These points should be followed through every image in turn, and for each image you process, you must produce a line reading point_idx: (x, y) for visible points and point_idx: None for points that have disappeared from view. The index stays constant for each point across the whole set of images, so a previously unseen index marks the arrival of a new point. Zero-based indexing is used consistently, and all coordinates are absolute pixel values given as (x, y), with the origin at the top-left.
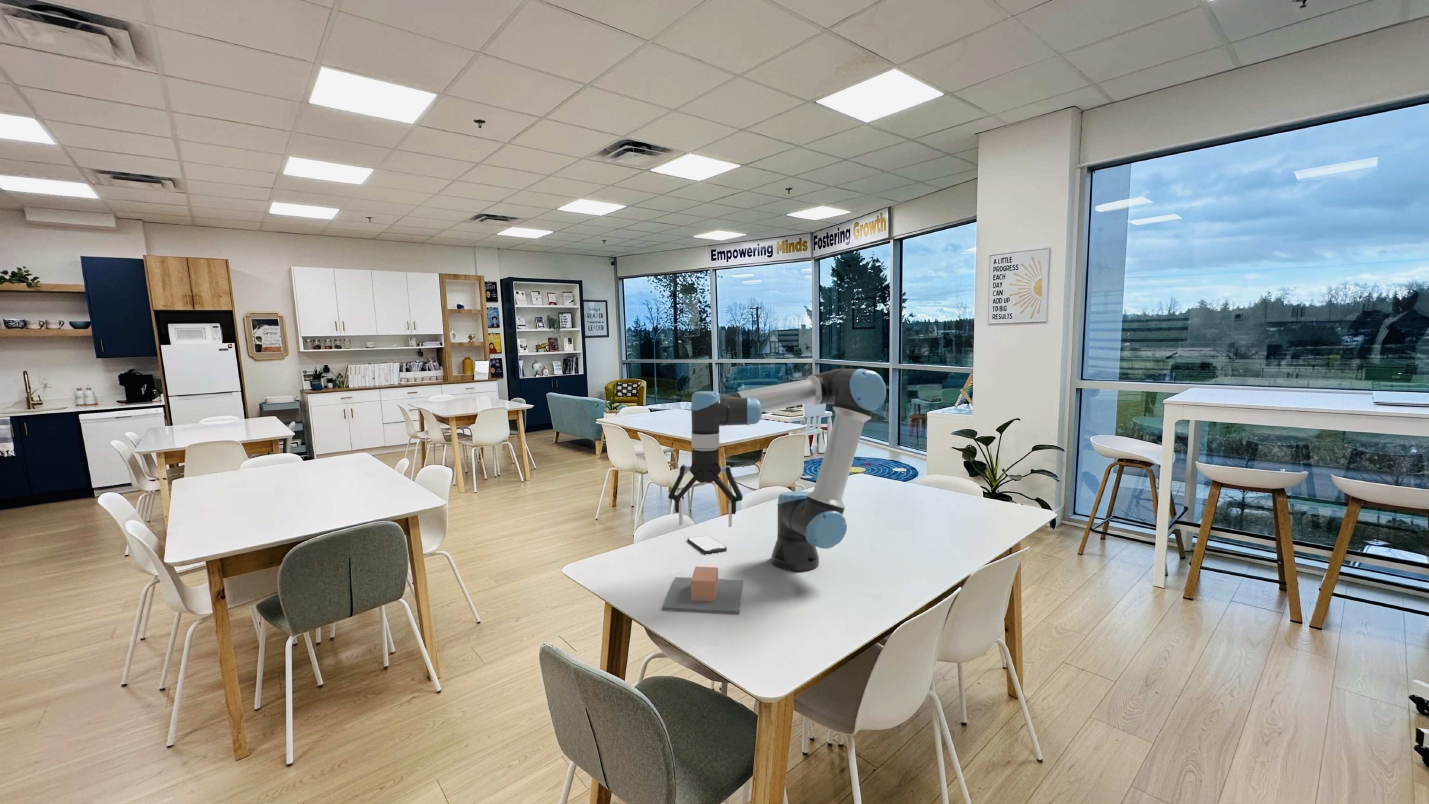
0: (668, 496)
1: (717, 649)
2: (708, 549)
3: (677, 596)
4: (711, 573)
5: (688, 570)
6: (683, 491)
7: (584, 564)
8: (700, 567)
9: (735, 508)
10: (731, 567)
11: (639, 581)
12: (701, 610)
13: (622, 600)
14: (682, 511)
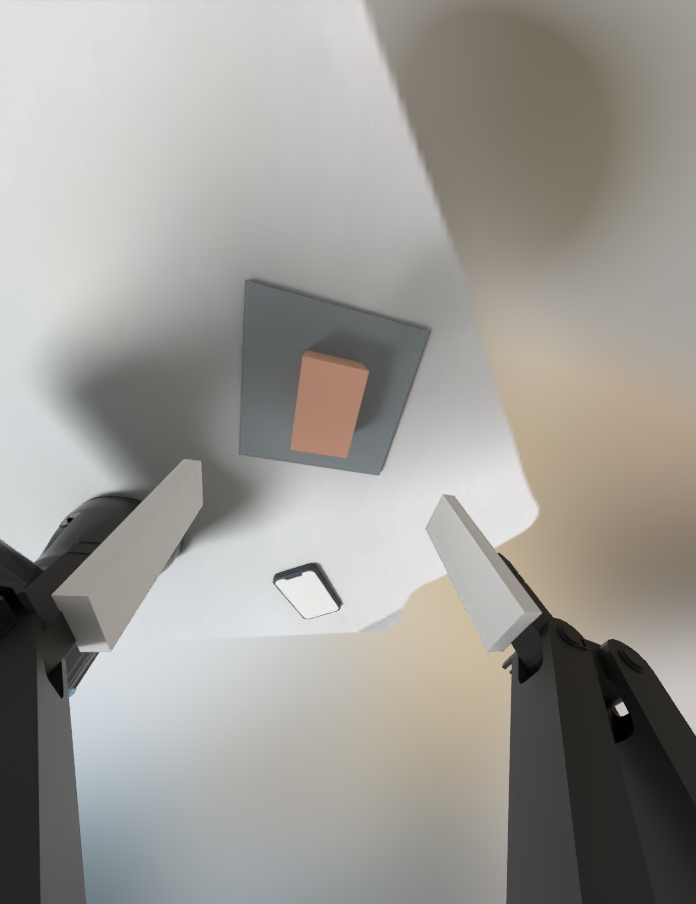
0: (647, 664)
1: (313, 6)
2: (306, 574)
3: (388, 385)
4: (309, 413)
5: (349, 507)
6: (591, 743)
7: (516, 532)
8: (335, 451)
9: (63, 555)
10: (265, 517)
11: (445, 469)
12: (341, 307)
13: (495, 390)
14: (462, 563)
